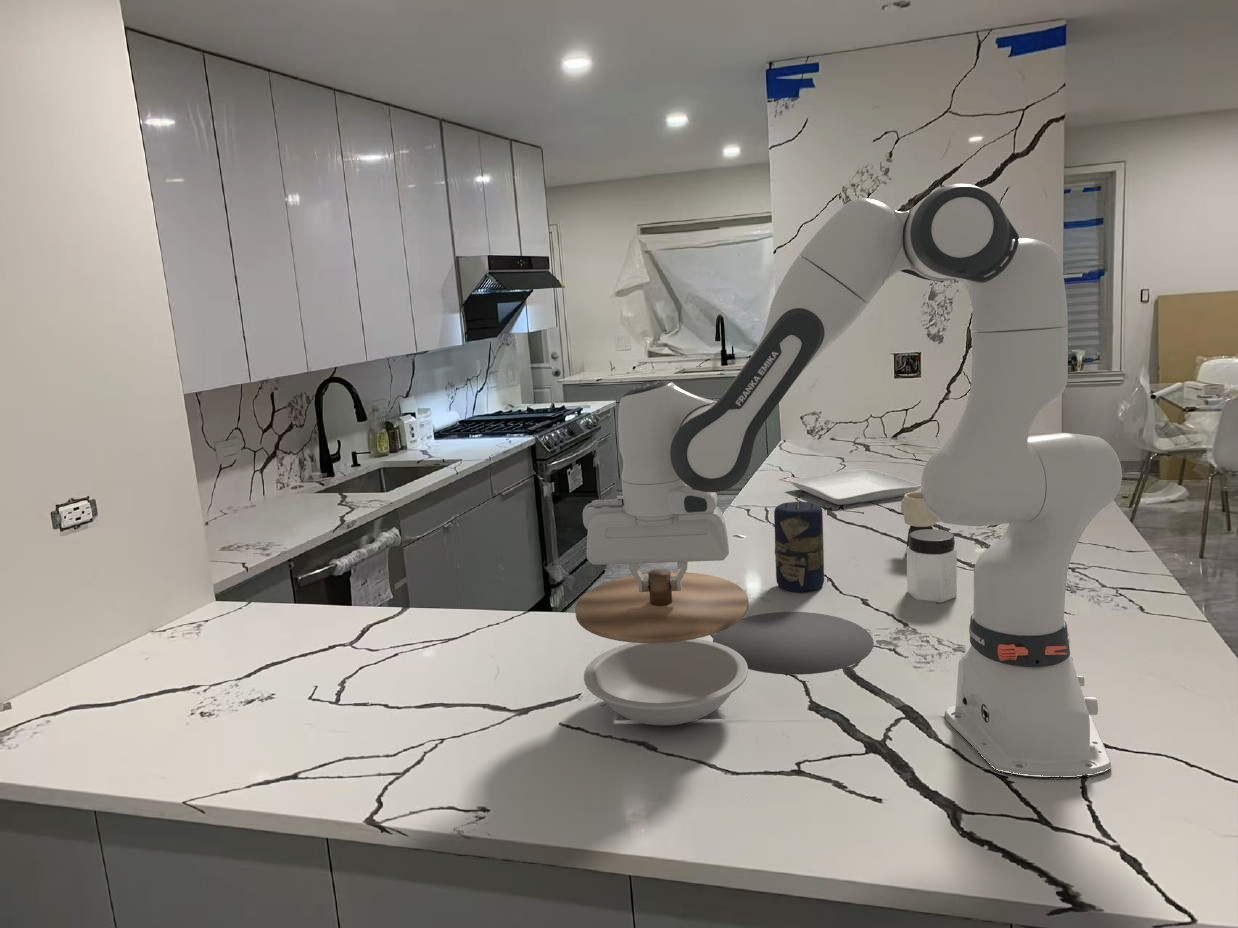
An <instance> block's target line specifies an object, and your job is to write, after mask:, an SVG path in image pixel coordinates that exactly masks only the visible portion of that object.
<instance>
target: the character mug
mask: <svg viewBox="0 0 1238 928" xmlns="http://www.w3.org/2000/svg"><path fill="white" fill-rule="evenodd" d="M900 511H901V514H903V521H904V524H906V525H908V526H909V528H908V534H907V541H906V551H907V547H908V546H909V534H910V533H911V532H913V531H917V530H923V529H934V527H933V526H935V525H937V523H940V522H941V521H939V520H938V519H937V518H936V517H935V516H934V515H933V514H932V513H931V512H930V510H929V509H928V507H927V506H926V504H925V502H924V499H923V496H922V492H921V491H915V492H911V493H907V494H905V495H903V499H901V501H900Z"/></svg>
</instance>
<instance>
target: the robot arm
mask: <svg viewBox="0 0 1238 928" xmlns="http://www.w3.org/2000/svg"><path fill="white" fill-rule="evenodd" d="M1019 236H1020V235H1019V234H1018V231H1017V230H1016V229H1015V227H1014V226H1013V224H1012V222H1011V221H1010V219H1009V217H1008V216H1007V214H1006V213H1005V211H1004V209H1003V207H1002V206H1001V204H1000V203H999V201H998V200H997V199H996V197H994V196H993V195H992V193H990V192H989V191H987V190H986V189H984V188H983V187H980V186H976V185H973V184H970V183H955V184H949V185H946V186H943V187H941V188H938V189H937V190H934V191H933V192H931V193H930V194H928V195H927V196H925V197H924V198H922V199H921V200H920V201H919V202H917V204H915V206H913V207H911V208H910V209H909V210H904V211H898V210H896V209H892V208H891V207H890V206H888V205H887V204H885V203H883V202H882V201H879V200H876V199H872V198H866V197H861V198H860V197H859V198H855V199H851V200H850V201H847V202H846V203H845V204H843V206H842V207H841V208H839V210H837V211H836V212H835V213H834V214H833V215H832V217H830V218H829V219H828V220H827V221H826V222H825V224H824V225H822V227H820V229H819V230H818V231H817V232H816V233H815V234H814V236H813V237H812V238H811V239H810V240H809V242H808V243H807V244H806V245H805V247H803V249H802V250H801V252H800V253H799V255H797V257H796V259H794V261H793V262H792V264H791V265H790V267H789V268H788V270H787V272H786V274H785V276H784V277H783V278H782V280H781V282H780V284H779V286H778V288H777V290H776V292H775V294H774V297H773V299H772V301H771V304H770V308H769V312H768V316H767V320H766V324H765V327H764V330H763V333H762V335H761V337H760V339H759V342H758V344H757V345H756V347H755V350H754V351H753V352H752V354H751V356H750V357H749V358H748V359H747V361H746V362H745V364H744V365H743V367H742V368H741V369H740V370H739V372H738V373H737V374H736V376H735V378H734V379H733V380H732V382H730V384H729V386H728V387H727V389H726V390H725V392H724V393H723V394H722V395H721V397H720V398H719V399H718V400H712V399H709V398H705V397H701V396H698V395H696V394H693V393H691V392H688V391H687V390H684V389H682V388H681V387H679V386H678V385H676V384H675V383H674V382H673V381H669V380H656V381H651V382H646V383H643V384H640V385H637V386H634V387H632V388H630V389H629V390H628V391H626V392H625V393H624V394H623V396H622V397H621V399H620V401H619V406H618V412H617V413H618V416H617V417H618V418H617V426H618V427H617V431H618V432H617V433H618V447H619V453H620V455H621V459H622V465H623V466H622V471H621V490H622V498H611V499H605V500H604V499H594V500H592V501H591V502H590V503H589V502H588V503H587V504H586V505H585V506H584V508H583V510H582V522H583V526H584V528H585V529H586V530H587V537H586V538H587V539H586V557H587V560H588V561H589V563H590V564H592V565H594V566H598V565H600V566H601V565H629V566H628V567H629V572H630V574H632V575H631V576H634V577H635V579H636V580H637V581H638V586H639V592H649V578H648V577H643V575H642V574H643V573H642V572H641V571H640V567H641V564H657V563H662V564H663V563H677V564H676V565H677V569H678V571H677V572H678V574H677V576H671V579H670V585H671V591H681V579H682V578H683V576H684V574H685V572H687V570H688V566H689V565H688V564H689V562H691V563H692V562H714V561H715V562H717V561H718V562H720V561H724V560H725V559H726V558H727V557H728V556H729V554H730V547H729V537H728V531H727V525H726V520H725V517H724V515H723V512H722V510H721V509H720V507H718V506H717V505H718V495H717V493H718V492H723V491H726V490H729V489H731V488H733V486H736V485H737V484H738V483H739V482H740V481H741V480H742V479H743V477H744V476H745V475H746V473H747V471H748V468H749V465H750V463H751V458H752V454H753V448H754V445H755V441H756V439H757V435H758V433H759V432H760V431H761V429H762V427H763V426H764V424H765V423H766V422H767V420H768V419H769V417H770V416H771V414H772V413H773V412H774V410H775V409H776V407H778V405H779V403H780V402H781V401H782V399H783V398H784V397H785V395H786V394H787V392H789V389H791V387H792V386H793V385H794V383H795V382H796V381H797V380H798V378H799V377H800V375H801V374H802V373H803V371H804V370H806V369H807V367H808V366H810V365H811V364H812V363H813V362H814V361H815V360H816V359H817V358H818V357H819V356H820V355H821V354H822V353H823V352H824V351H826V350H827V349H828V347H830V346H831V345H832V344H833V343H835V341H836V340H838V338H839V337H840V336H842V335H843V334H844V333H845V332H846V330H848V328H849V327H850V326H851V325H852V324H853V323H854V322H855V321H856V320H857V319H858V317H860V315H861V313H863V311H864V310H865V309H866V308H867V306H868V305H869V303H870V302H871V301H872V299H873V298H874V297H875V296H876V294H877V293H878V292H879V290H880V289H881V288H882V287H883V285H884V284H885V283H887V281H888V280H889V279H890V278H891V277H892V276H895V274H897V273H899V272H901V273H905V274H908V275H912V276H914V277H917V278H920V279H923V280H926V281H933V282H946V281H947V282H948V281H949V282H950V281H956V280H957V281H959V282H960V283H961V284H962V285H963V286H964V288H965V289H966V291H967V293H968V295H969V299H970V304H971V305H970V306H971V308H972V311H971V312H972V314H971V319H972V320H971V332H972V333H971V337H972V339H971V340H972V341H971V342H972V343H971V344H972V346H971V349H972V351H971V374H970V378H971V380H970V389H969V395H968V397H967V398H968V399H967V401H966V402H967V403H966V405H965V409H964V410H963V411H964V412H963V414H962V416H961V418H960V420H959V422H958V424H957V426H956V427H955V429H954V431H953V432H952V433H951V435H950V437H948V439H947V440H946V441H945V442H944V443H943V444H942V446H940V447H939V448H938V449H937V450H935V452H933V453H932V454H931V455H930V457H928V460H927V461H926V463H925V465H924V466H923V469H922V471H921V472H922V473H921V478H920V484H921V488H920V490H921V491H920V492H922V496H923V499H924V502H925V504H926V506H927V507H928V509H929V510H930V512H931V513H932V514H933V515H934V516H935V517H936V518H937V519H938V520H939V521H941V522H942V523H943V524H946V525H947V524H950V525H956V526H967V527H978V528H979V527H980V528H981V527H987V526H988V527H989V526H996V525H1004V524H1005V525H1006V524H1008V526H1007V528H1006V530H1005V531H1004V532H1003V534H1002V535H1001V537H1000V538H999V539H998V540H997V541H996V542H994V544H992V545H990V546H989V547H988V548H987V549H985V550H984V551H983V552H982V553H981V554H980V555H979V557H978V558H977V560H976V562H975V565H974V568H973V613H972V614H971V615H970V619H969V621H970V622H969V625H968V633H969V643H970V647H969V649H968V651H967V652H966V653H965V654H964V655H963V656H962V657H961V659H959V661H958V665H957V666H958V669H957V681H956V695H955V696H956V699H955V704H954V705H951V706H949V707H947V708H946V709H945V711H944V719H945V720H946V722H948V723H949V725H951V726H952V727H953V728H954V730H955V731H956V732H957V731H958V732H959V733H960V734H961V735H962V736H963V737H964V738H965V739H966V740H967V741H968V742H969V743H970V744H971V745H972V746H973V747H974V748H975V749H976V750H977V751H978V752H977V751H976V750H975V749H974V748H973V747H972V746H971V745H970V744H969V743H968V742H967V741H966V740H965V739H964V738H963V737H962V736H961V735H960V734H959V733H958V732H957V733H958V734H959V735H960V736H961V737H962V738H963V739H964V740H965V741H966V742H967V743H968V744H969V745H970V746H971V747H972V748H973V749H974V750H975V751H976V752H977V754H978V753H980V754H981V755H982V756H983V758H985V760H986V761H987V762H988V763H990V765H991V766H993V767H994V768H995V769H998V770H1003V771H1009V772H1011V773H1013V772H1014V773H1018V774H1019V773H1020V774H1028V775H1041V776H1042V775H1043V776H1051V777H1052V776H1054V777H1055V776H1059V777H1061V776H1062V777H1063V776H1077V775H1082V774H1083V775H1085V774H1086V775H1087V774H1095V773H1097V772H1100V771H1105V770H1106V769H1109V768H1110V767H1111V768H1112V763H1111V759H1110V757H1109V754H1108V751H1107V749H1106V747H1105V745H1104V743H1103V740H1102V738H1101V735H1100V733H1099V731H1098V728H1097V726H1096V723H1095V720H1094V719H1093V717H1092V716H1097V715H1098V714H1099V705H1098V703H1099V702H1098V700H1097V697H1095V696H1085V695H1084V694H1083V690H1082V687H1084V686H1085V677H1084V675H1079V674H1077V672H1076V669H1075V666H1074V661H1073V660H1074V658H1073V657H1072V656H1071V649H1070V643H1071V642H1070V634H1069V631H1068V625H1067V622H1066V621H1065V602H1066V588H1067V577H1068V571H1069V566H1070V564H1071V560H1072V556H1073V554H1074V552H1075V549H1076V547H1077V545H1078V543H1079V541H1080V539H1081V537H1082V536H1083V534H1084V532H1085V530H1086V529H1087V528H1088V526H1089V525H1090V523H1091V522H1092V521H1093V519H1095V517H1096V516H1097V515H1098V514H1099V513H1100V512H1101V511H1102V510H1104V508H1106V507H1107V506H1108V505H1110V504H1111V503H1112V502H1113V501H1114V500H1115V498H1116V497H1117V496H1118V493H1119V491H1120V489H1121V486H1122V485H1121V484H1122V479H1123V472H1122V471H1123V470H1122V465H1121V461H1120V459H1119V455H1118V454H1117V452H1116V451H1115V450H1114V448H1113V447H1112V446H1111V445H1110V444H1109V443H1108V442H1107V441H1106V440H1105V439H1103V438H1102V437H1099V436H1095V435H1088V434H1087V435H1086V434H1079V433H1069V432H1057V433H1049V434H1048V433H1047V434H1038V435H1030V431H1031V429H1032V426H1033V424H1034V422H1035V420H1036V419H1037V417H1038V416H1039V415H1040V413H1041V412H1042V411H1043V410H1044V409H1045V408H1047V407H1048V406H1050V405H1051V404H1052V403H1054V402H1055V401H1057V400H1058V399H1059V398H1060V397H1061V396H1062V394H1063V393H1064V391H1065V389H1066V387H1067V384H1068V382H1069V381H1068V379H1069V377H1068V376H1069V374H1068V373H1069V369H1068V368H1069V365H1068V364H1069V363H1068V362H1069V361H1068V360H1069V359H1068V357H1069V356H1068V355H1069V354H1068V353H1069V352H1068V351H1069V346H1068V345H1069V341H1068V337H1069V335H1068V333H1069V331H1068V330H1069V329H1068V328H1069V326H1068V325H1069V324H1068V323H1069V322H1068V321H1069V320H1068V318H1069V315H1068V301H1067V292H1066V291H1067V290H1066V285H1065V280H1064V279H1065V278H1064V272H1063V268H1062V263H1061V258H1060V256H1059V253H1058V252H1057V250H1056V249H1055V248H1054V247H1053V246H1052V245H1050V244H1049V243H1047V242H1045V241H1041V240H1039V239H1035V238H1029V237H1028V238H1025V237H1022V238H1020V237H1019ZM983 758H982V759H983ZM985 760H984V761H985ZM986 761H985V762H986ZM987 762H986V763H987ZM988 763H987V764H988ZM990 765H989V766H990ZM991 766H990V767H991ZM995 769H994V770H995Z"/></svg>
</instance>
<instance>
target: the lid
mask: <svg viewBox="0 0 1238 928" xmlns="http://www.w3.org/2000/svg"><path fill="white" fill-rule="evenodd" d="M678 572H679V571H670V570H668V569H664V568H663V569H662V568H661V569H660V568H659V569H658V568H657V569H653V570H651V571H649V572H647V573H641V574H642V575H643V577H648V578H649V592H639V586H638V581H637V580H636V579H635V577H634V576H633V575H630V576H626V577H621V578H618V579H613V580H611V581H608V582H604V583H602V584H600V585H598V586H595V587H593V588H592V589H590V590H588V591H587V592H585V593H584V594H583V595H582V596H581V597H580V598H579V599H578V601H577V602H576V604H575V606H574V607H575V612H574V613H575V618H576V621H577V623H578V624H579V625H580V626H581V627H582V628H583V629H585V631H588V633H591V634H594V635H596V636H598V637H602V638H604V639H607V640H608V639H609V640H613V641H616V642H617V641H618V642H625V643H670V642H680V641H686V640H692V639H701V638H705V637H708V636H712V635H715V634H716V633H717V632H720V631H723V630H725V629H727V628H729V627H731V626H733V625H734V624H736V623H737V622H739V621H740V620H741V619H742V618H745V616H746V615H747V614H748V610H749V603H750V601H749V596H748V594H747V593H746V590H744V589H743V588H742V587H741V586H739V585H738V584H736V583H735V582H732V581H730V580H729V579H725V578H722V577H718V576H714V575H710V574H704V573H703V574H702V573H697V572H687V571H686V572H685V574H684V576H683V578H682V579H681V591H671V585H670V579H671V576H677V574H678Z"/></svg>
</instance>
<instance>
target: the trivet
mask: <svg viewBox="0 0 1238 928" xmlns="http://www.w3.org/2000/svg"><path fill="white" fill-rule="evenodd" d="M712 642H715V643H718V644H721V645H724V646H727V647H729V648H731V649H733V650H734V651H736V652H737V653H739V654H740V655H741V656H742V657H743V658H744V659H745V661H746V663H747V666H748V670H751V671H752V670H753V671H755V672H762V673H767V674H776V675H777V674H778V675H814V674H823V673H827V672H832V671H838V670H842V669H844V668H847V667H850V666H851V667H852V666H853V665H855V664H857V663H859V662H861V661H863V660H864V659H866V658H867V657H868V656H869V655H870V654H871V652H872V651H873V649H874V639H873V637H872V635H871V633H869V632H868V631H867V630H866V629H865V628H863V627H862V626H860V625H859V624H857V623H855V622H854V621H853V622H852V621H850V620H848V619H845V618H843V617H838V616H834V615H830V614H826V613H825V614H824V613H817V612H808V611H807V612H806V611H775V612H767V613H760V614H754V615H750V616H746V617H743V618H742V619H741V620H740V621H739V622H737V623H736V624H734V625H733V626H731V627H729V628H727V629H725V630H723V631H720V632H717V633H715V634H714V636H713V638H712Z"/></svg>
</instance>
